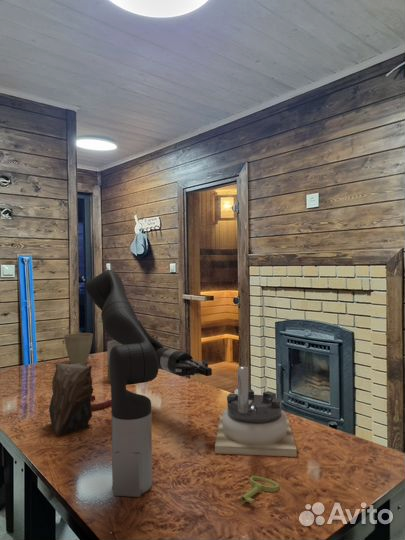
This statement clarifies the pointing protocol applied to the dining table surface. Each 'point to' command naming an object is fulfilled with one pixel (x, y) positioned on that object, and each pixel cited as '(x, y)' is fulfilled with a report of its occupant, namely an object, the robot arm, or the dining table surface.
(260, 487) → the key
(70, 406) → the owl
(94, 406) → the pliers
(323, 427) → the dining table surface
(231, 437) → the cap housing
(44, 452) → the dining table surface
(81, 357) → the plant pot
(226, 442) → the base board
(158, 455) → the dining table surface
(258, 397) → the cap with crank handle
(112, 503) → the dining table surface
